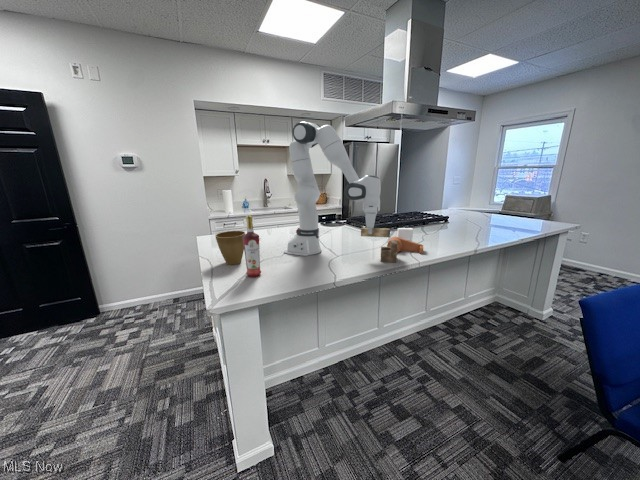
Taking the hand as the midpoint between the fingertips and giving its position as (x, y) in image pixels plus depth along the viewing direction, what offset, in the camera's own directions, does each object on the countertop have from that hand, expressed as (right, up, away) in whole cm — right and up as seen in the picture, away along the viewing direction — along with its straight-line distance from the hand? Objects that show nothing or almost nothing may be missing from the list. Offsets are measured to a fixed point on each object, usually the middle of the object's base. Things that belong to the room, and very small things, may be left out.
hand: (370, 232), depth 140 cm
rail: (+2, -2, 0) cm, 3 cm away
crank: (+23, -11, +16) cm, 30 cm away
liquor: (-58, -21, -17) cm, 64 cm away
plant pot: (-73, -16, 0) cm, 75 cm away
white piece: (+25, -9, +24) cm, 36 cm away
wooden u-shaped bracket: (+10, -14, +2) cm, 18 cm away
